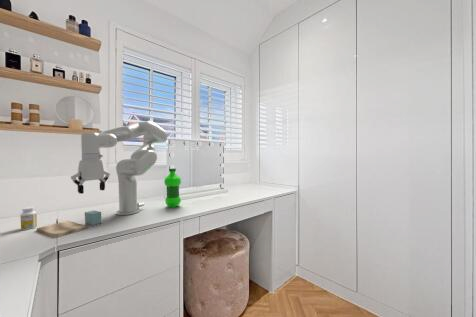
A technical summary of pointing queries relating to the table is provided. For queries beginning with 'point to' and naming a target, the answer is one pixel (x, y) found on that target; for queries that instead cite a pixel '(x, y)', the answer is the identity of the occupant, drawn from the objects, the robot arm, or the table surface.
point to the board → (61, 228)
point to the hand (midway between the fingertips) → (92, 191)
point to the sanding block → (93, 218)
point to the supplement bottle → (28, 218)
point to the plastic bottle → (172, 188)
